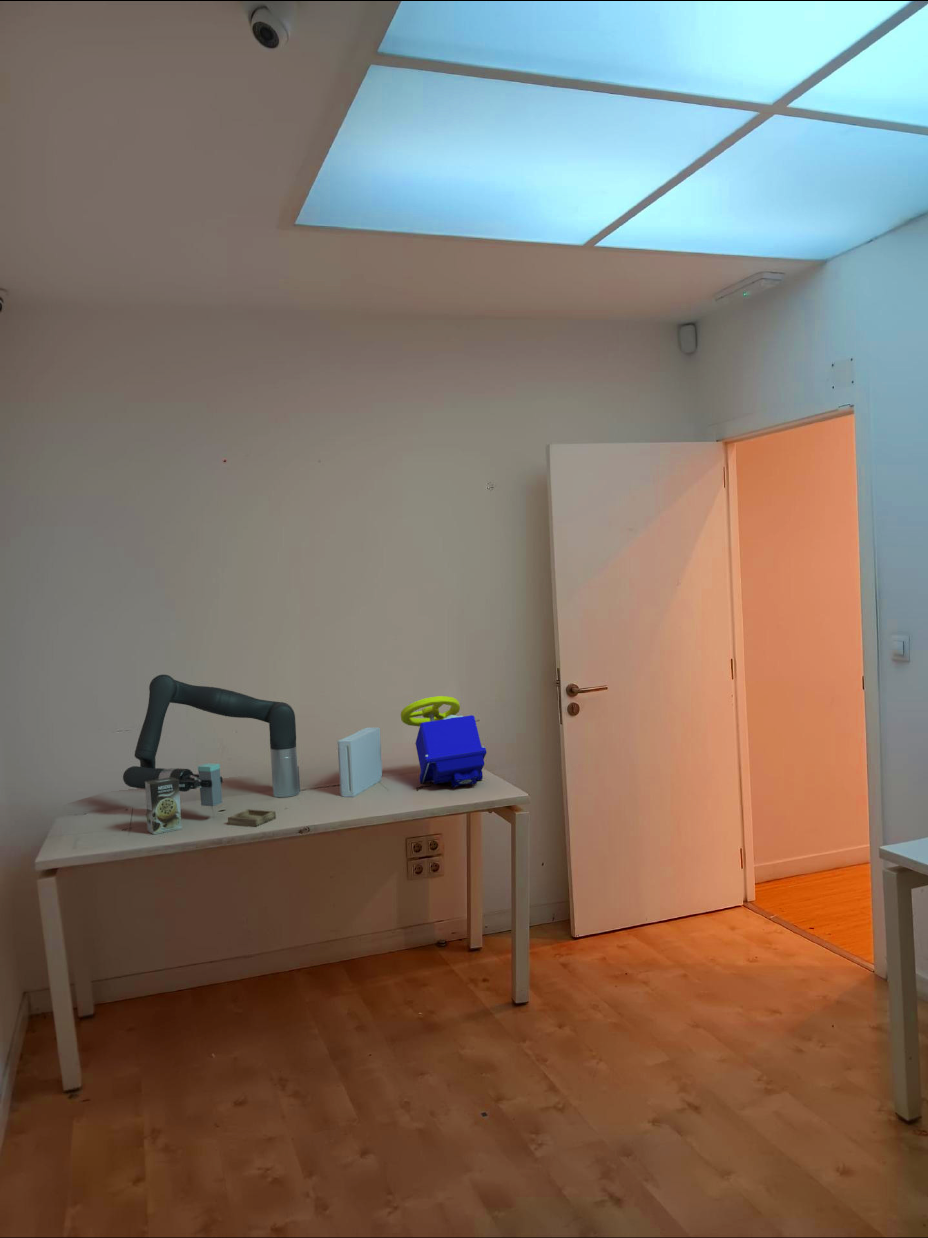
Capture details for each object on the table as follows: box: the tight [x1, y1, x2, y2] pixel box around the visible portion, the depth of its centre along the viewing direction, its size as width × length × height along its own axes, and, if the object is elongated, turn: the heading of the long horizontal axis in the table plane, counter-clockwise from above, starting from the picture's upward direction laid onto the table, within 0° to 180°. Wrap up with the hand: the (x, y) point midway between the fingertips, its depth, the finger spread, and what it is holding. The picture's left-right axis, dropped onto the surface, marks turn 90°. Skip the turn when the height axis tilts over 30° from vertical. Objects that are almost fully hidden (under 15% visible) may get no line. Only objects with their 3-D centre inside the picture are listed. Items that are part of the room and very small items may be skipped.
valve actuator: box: [400, 695, 488, 789], centre depth 343 cm, size 26×27×30 cm
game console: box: [337, 727, 383, 798], centre depth 344 cm, size 6×27×20 cm, turn 163°
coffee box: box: [145, 777, 182, 835], centre depth 299 cm, size 9×6×16 cm
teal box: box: [197, 762, 223, 807], centre depth 308 cm, size 5×5×13 cm
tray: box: [227, 809, 277, 828], centre depth 304 cm, size 10×11×2 cm
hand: (216, 782), depth 307 cm, fingers closed on teal box, 4 cm apart
